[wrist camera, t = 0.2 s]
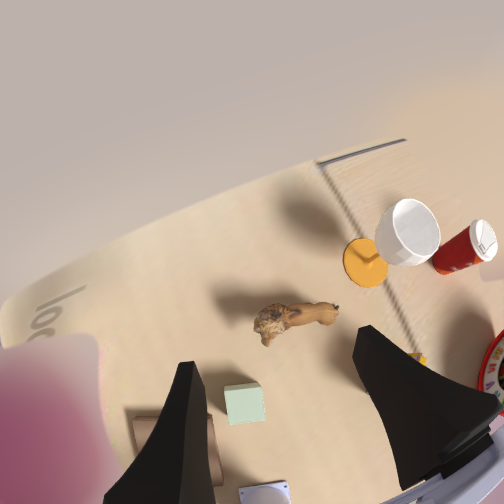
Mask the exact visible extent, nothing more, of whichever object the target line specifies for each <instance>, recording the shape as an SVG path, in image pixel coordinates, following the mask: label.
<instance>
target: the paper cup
mask: <svg viewBox="0 0 504 504" xmlns="http://www.w3.org/2000/svg"><path fill="white" fill-rule="evenodd" d="M496 252H497V239H496V236H495V233H494V231H493V229H492V227H491V226H490V225H489V224H488V223H487V222H486V221H484V220H474V221H472V223H471V225H470V226H468V227H467V228H466V229H464V230H463V231H462V232H460V233H459V234H458V235H456V236H455V237H453V238H452V239H451V240H449V241H448V242H446V243H445V244H444V245H442V246H441V247H439V248H438V250H437V251H436V252H435V253H434V254H433V264H434V267H435V269H436V270H437V271H438V272H439V273H440V274H442V275H445V274H449V273H452V272H455V271H458V270H461V269H464V268H467V267H469V266H472V265H475V264H478V263H480V262H483V261H490V260H491V259H492V258H493V256H494V255H495V254H496Z"/></svg>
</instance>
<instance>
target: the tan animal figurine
mask: <svg viewBox="0 0 504 504" xmlns="http://www.w3.org/2000/svg"><path fill="white" fill-rule="evenodd" d="M338 308H339V305H337V306H336V307H333V306H332V305H331V304H329V303H327V302H319V303H317V304H311V303H307V304H294V305H289V306H286V305H282V304H278V303H277V304H273V305H272V306H268V307H267V308H265V309H264V310H263V311H261V312H260V313H259V314H258V316H257V318H256V319H255V321H254V331H255V332H257V333H260V334H261V337H262V340H261V343H262V344H263V345H264V346H266V347H269V346H270V345H271V344H272V339H273V338H275V337H276V335H277V334H282V332H284V331H285V330H288V329H289V328H290V327H291V326H300V325H304V324H308V323H311V322H313V321H318V322H319V323H320V324H322V325H330V324H333V323H334V322H335V315H338V314H339V311H338V310H337V309H338Z"/></svg>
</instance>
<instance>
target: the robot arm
mask: <svg viewBox="0 0 504 504" xmlns="http://www.w3.org/2000/svg"><path fill="white" fill-rule="evenodd" d="M352 358H353V361H354V363H355V366H356V369H357V371H358V374H359V376H360V378H361V380H362V382H363V384H364V386H365V388H366V390H367V392H368V393H369V395H370V397H371V399H372V401H373V403H374V405H375V407H376V409H377V410H378V412H379V415H380V417H381V419H382V422H383V424H384V427H385V430H386V433H387V436H388V439H389V442H390V445H391V448H392V452H393V456H394V459H395V463H396V468H397V473H398V478H399V484H400V487H401V489H402V491H404V490H406V489H408V488H410V487H412V486H414V485H416V484H418V483H420V482H421V481H423V480H425V482H424V483H422V484H420V485H418V486H416V487H414V488H412V489H411V490H409V491H407V492H405V493H403V494H401V495H398V496H396V497H394V498H392V499H390V500H388V501H385V502H383V503H381V504H409V503H410V502H412V501H414V500H416V499H417V501H416V504H478V503H479V502H480V501H482V500H483V498H485V496H487V495H488V494H489V493H490V492H491V491H492V490H493V489H494V488H495V487H496V486H497V484H499V483H500V482H501V481H502V480H503V478H504V425H502V426H501V427H500V428H499V429H498V430H497V431H496V432H494V433H493V434H492V435H491V436H490V435H489V433H488V432H490V431H491V429H490V427H489V424H490V423H491V422H492V421H493V420H494V419H495V418H496V417H497V416H498V415H499V414H500V413H501V412H502V410H503V408H504V407H503V405H502V404H501V402H500V401H499V399H498V398H497V396H496V395H495V394H491V393H487V392H482V391H479V390H475V389H472V388H469V387H466V386H464V385H461V384H459V383H456V382H454V381H452V380H450V379H447V378H445V377H443V376H441V375H440V374H438V373H436V372H434V371H432V370H431V369H429V368H427V367H426V366H424V365H423V364H421V363H420V362H418V361H417V360H415V359H414V358H412V357H411V356H409V355H408V354H407V353H406V352H404V351H403V350H402V349H400V348H399V347H398V346H396V345H395V344H394V343H393V342H391V341H390V340H389V339H388V338H386V337H385V336H384V335H383V334H381V333H380V332H379V331H378V330H376V329H375V328H374V327H373V326H371V325H368V326H364V327H361V328H359V329H358V334H357V338H356V343H355V348H354V352H353V356H352ZM285 485H286V487H284V486H285ZM238 491H239V496H240V501H241V504H291V502H290V494H289V486H288V482H287V481H283V482H278V483H272V484H265V485H259V486H251V487H242V488H239V489H238ZM241 492H243V493H241ZM103 504H216V501H215V496H214V491H213V486H212V480H211V474H210V467H209V460H208V435H207V402H206V394H205V387H204V385H203V382H202V380H201V377H200V375H199V372H198V370H197V367H196V365H195V362H194V361H189V362H180V363H179V364H178V367H177V371H176V374H175V377H174V380H173V383H172V386H171V389H170V392H169V394H168V397H167V399H166V402H165V405H164V407H163V409H162V411H161V414H160V416H159V418H158V420H157V422H156V424H155V426H154V428H153V430H152V432H151V434H150V436H149V438H148V439H147V441H146V443H145V445H144V446H143V448H142V449H141V451H140V452H139V454H138V456H137V457H136V458H135V460H134V461H133V463H132V464H131V465H130V467H129V468H128V469H127V470H126V472H125V473H124V474H123V476H122V477H121V478H120V479H119V480H118V481H117V482H116V483H115V484H114V486H113V487H112V488H111V489H110V490H109V491H108V492H107V493H106V494H105V495H104V500H103Z"/></svg>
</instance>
